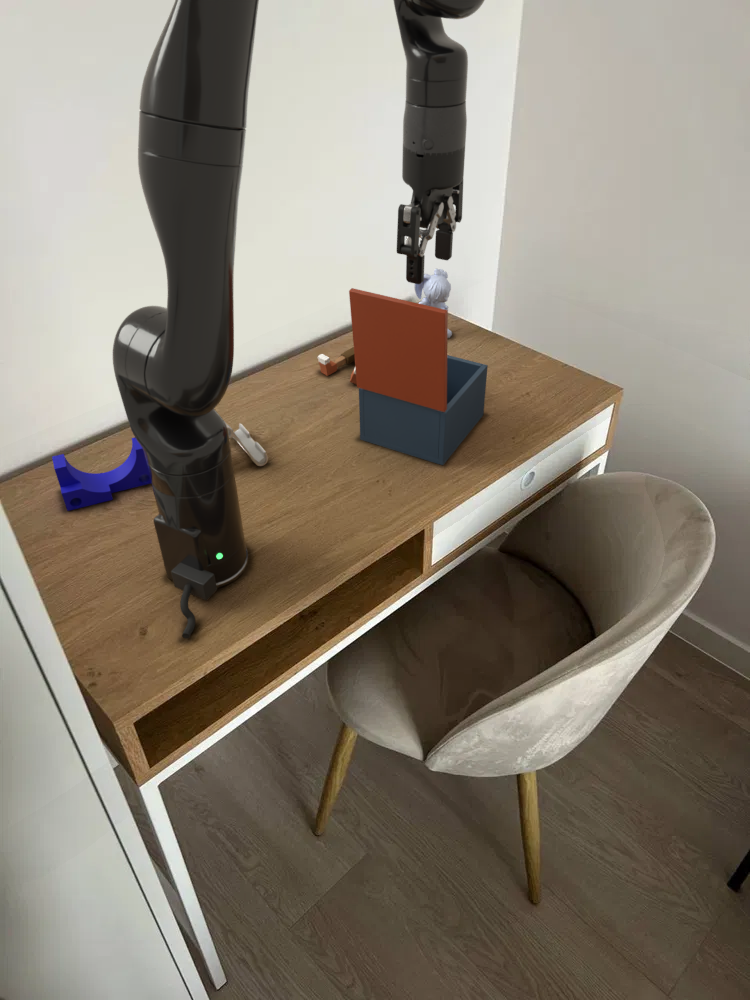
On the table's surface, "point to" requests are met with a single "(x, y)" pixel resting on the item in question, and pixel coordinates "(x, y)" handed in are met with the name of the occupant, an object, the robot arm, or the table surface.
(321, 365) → the character figurine
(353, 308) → the lid
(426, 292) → the toy figurine
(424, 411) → the sorter box
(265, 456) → the tablet stand
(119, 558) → the table surface
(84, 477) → the blue cradle bracket
